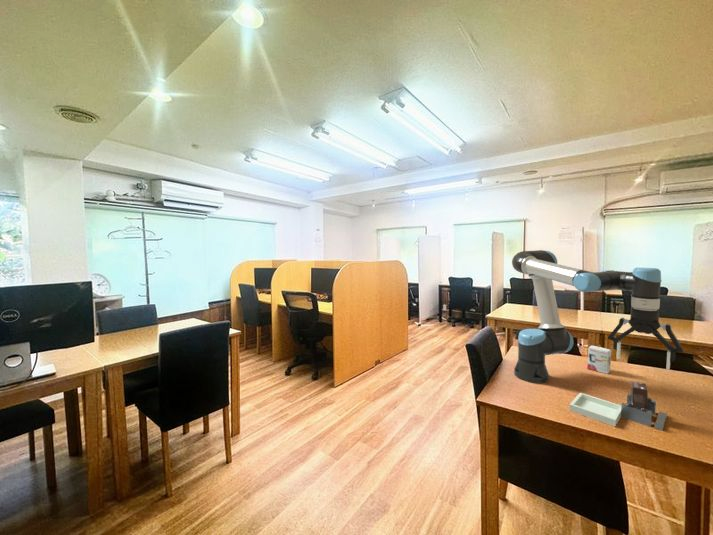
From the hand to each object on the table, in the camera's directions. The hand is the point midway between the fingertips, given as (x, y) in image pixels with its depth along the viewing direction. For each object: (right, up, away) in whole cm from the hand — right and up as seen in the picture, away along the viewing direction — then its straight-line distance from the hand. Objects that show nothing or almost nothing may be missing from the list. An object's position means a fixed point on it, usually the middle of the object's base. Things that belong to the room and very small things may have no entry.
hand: (642, 363), depth 110 cm
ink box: (+17, -17, +40) cm, 47 cm away
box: (0, -21, +1) cm, 21 cm away
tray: (-14, -21, +4) cm, 25 cm away
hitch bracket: (+1, -21, 0) cm, 21 cm away
